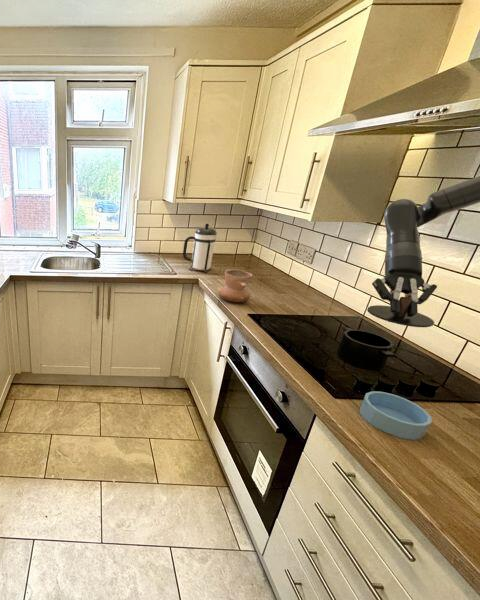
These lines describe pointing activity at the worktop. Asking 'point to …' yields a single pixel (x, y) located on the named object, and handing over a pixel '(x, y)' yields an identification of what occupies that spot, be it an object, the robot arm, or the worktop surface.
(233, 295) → the ceramic jug
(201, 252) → the coffee press
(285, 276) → the worktop surface
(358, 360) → the pot
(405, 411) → the blue round dish
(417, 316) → the lid
